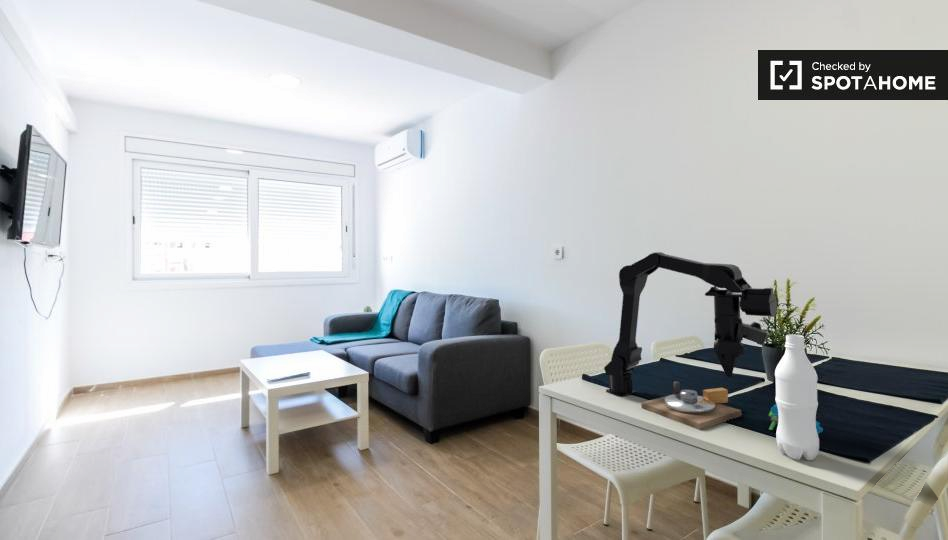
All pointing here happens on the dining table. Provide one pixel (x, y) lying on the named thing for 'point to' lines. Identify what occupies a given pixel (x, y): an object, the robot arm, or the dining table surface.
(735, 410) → the base board
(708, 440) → the dining table surface
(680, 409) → the flange
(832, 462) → the dining table surface
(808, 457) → the water bottle
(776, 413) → the green blue toy figure
